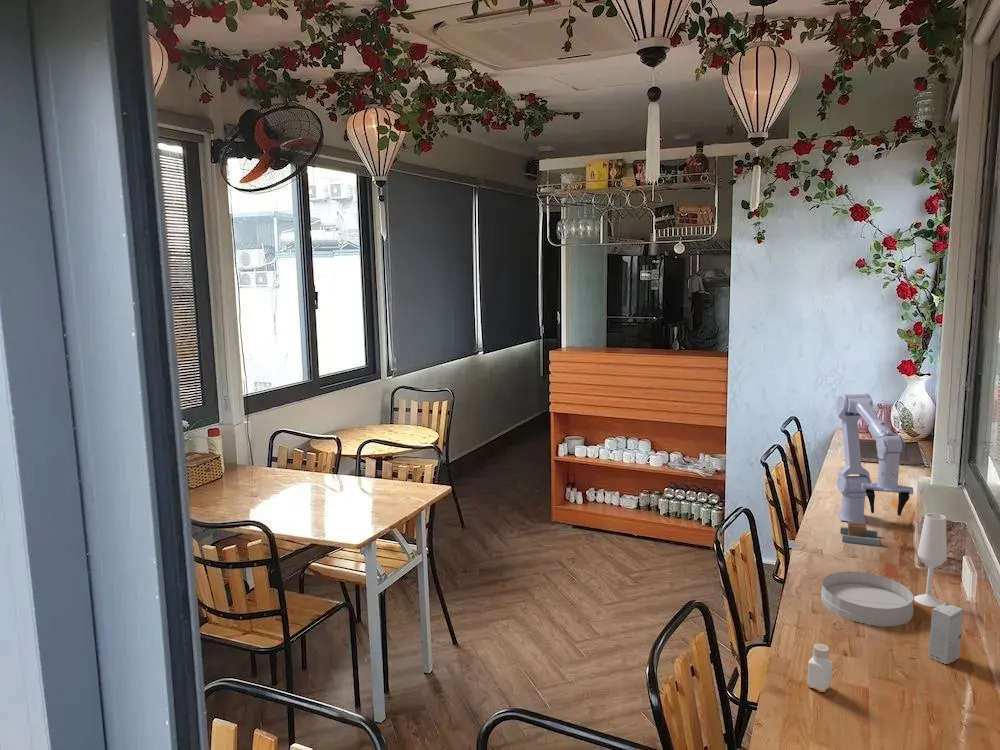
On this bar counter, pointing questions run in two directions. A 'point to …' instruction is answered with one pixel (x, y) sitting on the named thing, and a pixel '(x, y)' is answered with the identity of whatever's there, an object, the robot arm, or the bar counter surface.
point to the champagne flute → (932, 552)
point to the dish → (867, 598)
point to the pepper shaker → (820, 668)
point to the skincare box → (945, 633)
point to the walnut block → (856, 529)
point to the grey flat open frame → (869, 539)
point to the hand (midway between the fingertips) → (885, 513)
